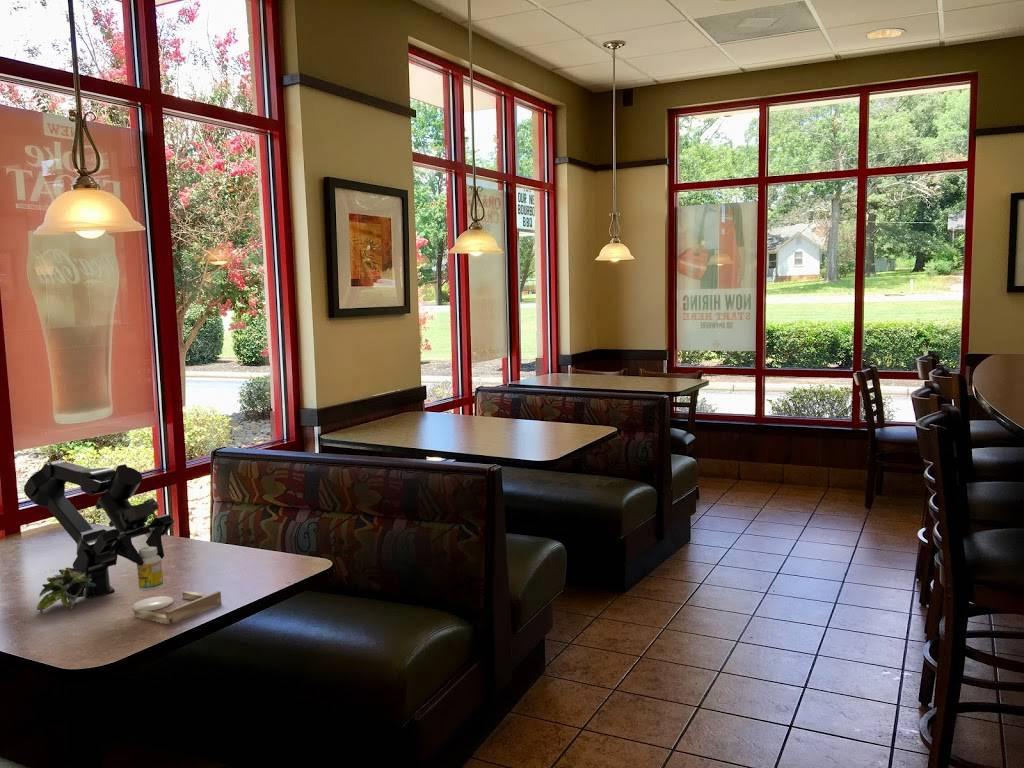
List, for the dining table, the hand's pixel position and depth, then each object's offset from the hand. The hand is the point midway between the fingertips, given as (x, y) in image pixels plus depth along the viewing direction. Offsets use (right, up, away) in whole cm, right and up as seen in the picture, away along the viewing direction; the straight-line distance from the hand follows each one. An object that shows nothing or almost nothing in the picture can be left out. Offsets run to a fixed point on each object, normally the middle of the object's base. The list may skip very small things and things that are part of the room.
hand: (152, 560), depth 197 cm
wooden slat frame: (+7, -11, -3) cm, 14 cm away
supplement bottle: (-1, -7, +1) cm, 7 cm away
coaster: (-1, -11, +2) cm, 11 cm away
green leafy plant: (-22, -12, +3) cm, 25 cm away
